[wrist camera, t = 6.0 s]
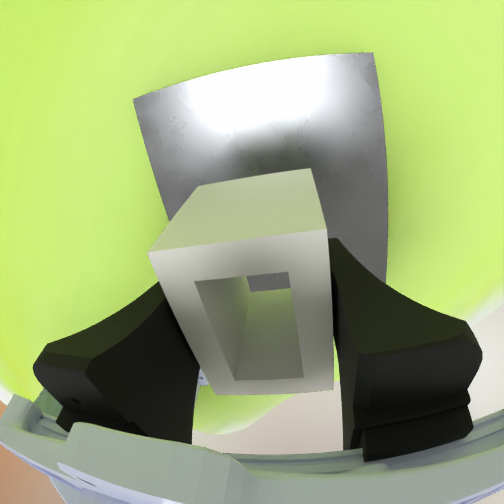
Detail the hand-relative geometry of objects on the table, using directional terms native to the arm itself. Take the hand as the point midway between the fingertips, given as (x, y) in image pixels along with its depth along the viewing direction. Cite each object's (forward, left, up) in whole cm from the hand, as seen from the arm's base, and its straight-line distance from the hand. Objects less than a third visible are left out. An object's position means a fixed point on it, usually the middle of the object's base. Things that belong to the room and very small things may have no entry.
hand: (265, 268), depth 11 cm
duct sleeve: (0, 0, -1) cm, 1 cm away
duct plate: (0, 0, -8) cm, 8 cm away
